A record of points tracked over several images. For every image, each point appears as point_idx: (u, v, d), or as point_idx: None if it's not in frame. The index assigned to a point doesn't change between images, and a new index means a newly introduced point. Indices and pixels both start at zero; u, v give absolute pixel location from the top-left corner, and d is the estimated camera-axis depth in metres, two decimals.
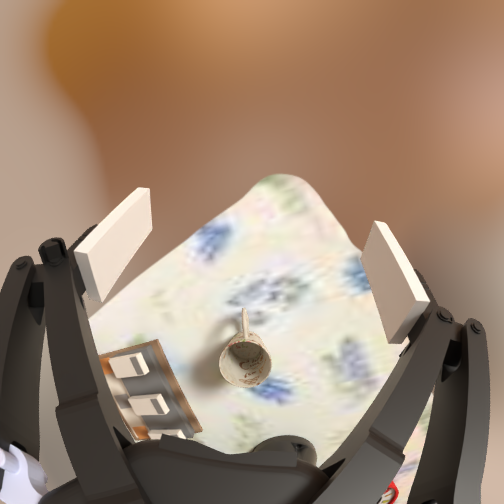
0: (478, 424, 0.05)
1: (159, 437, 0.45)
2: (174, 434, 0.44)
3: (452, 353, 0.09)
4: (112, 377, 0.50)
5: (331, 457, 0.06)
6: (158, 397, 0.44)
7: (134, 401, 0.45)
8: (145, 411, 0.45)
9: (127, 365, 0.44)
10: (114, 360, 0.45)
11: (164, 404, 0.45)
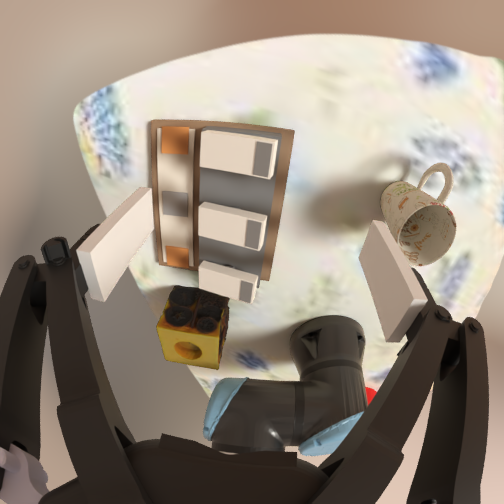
0: (477, 423, 0.05)
1: (216, 278, 0.37)
2: (248, 282, 0.36)
3: (450, 352, 0.09)
4: (176, 161, 0.33)
5: (330, 456, 0.06)
6: (264, 221, 0.31)
7: (211, 213, 0.32)
8: (221, 234, 0.33)
9: (240, 152, 0.27)
10: (216, 135, 0.27)
11: (263, 233, 0.33)
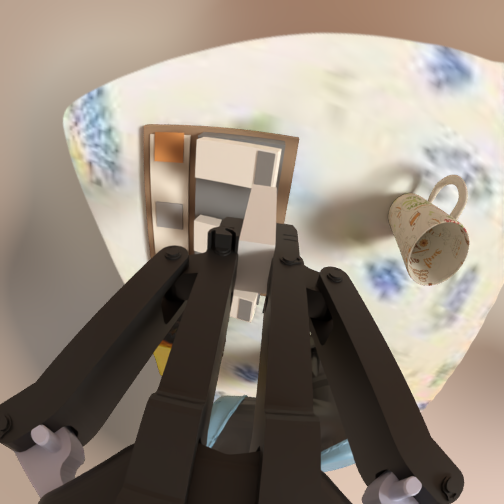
0: (388, 382, 0.06)
1: None
2: (247, 300, 0.34)
3: (308, 303, 0.11)
4: (171, 170, 0.31)
5: (252, 442, 0.07)
6: None
7: (207, 228, 0.30)
8: None
9: (240, 162, 0.25)
10: (213, 143, 0.25)
11: None
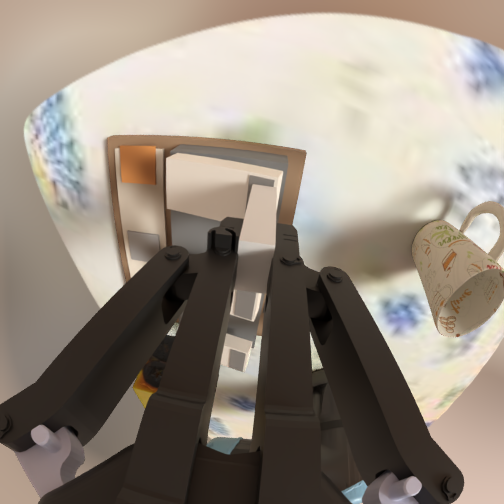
0: (389, 382, 0.06)
1: None
2: (239, 351, 0.27)
3: (308, 303, 0.11)
4: (142, 193, 0.24)
5: (252, 442, 0.07)
6: None
7: None
8: None
9: (225, 191, 0.18)
10: (187, 164, 0.18)
11: (259, 298, 0.24)
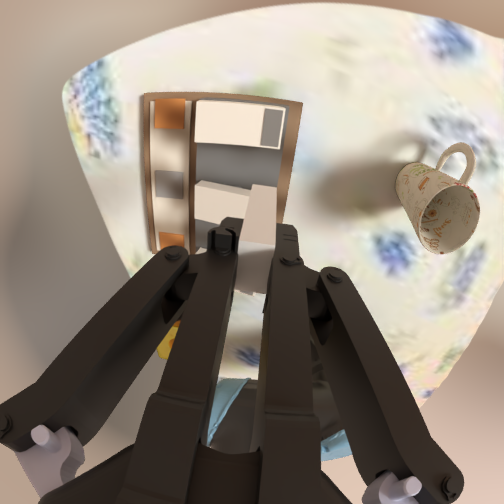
0: (389, 382, 0.06)
1: None
2: None
3: (308, 303, 0.11)
4: (171, 136, 0.29)
5: (252, 442, 0.07)
6: None
7: (208, 192, 0.28)
8: (220, 217, 0.29)
9: (246, 121, 0.23)
10: (216, 104, 0.22)
11: None
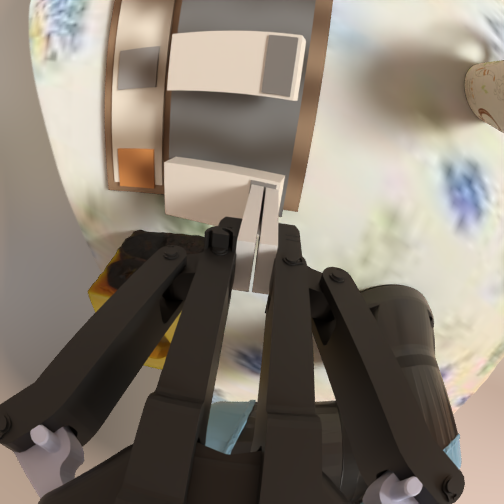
0: (391, 382, 0.06)
1: (198, 182, 0.18)
2: (266, 182, 0.16)
3: (310, 303, 0.11)
4: (149, 3, 0.14)
5: (253, 442, 0.07)
6: (303, 41, 0.11)
7: (194, 39, 0.12)
8: (212, 77, 0.14)
9: None
10: None
11: (300, 72, 0.13)
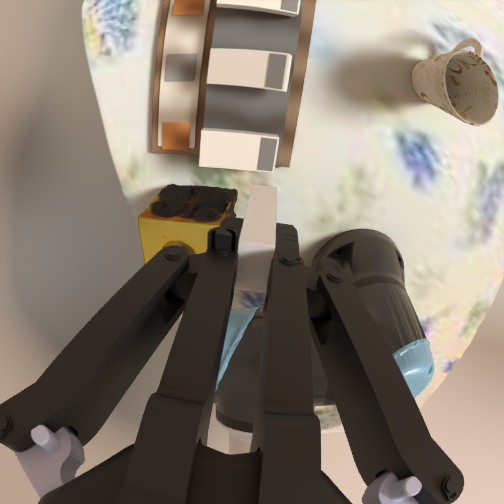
0: (389, 382, 0.06)
1: (226, 141, 0.27)
2: (271, 138, 0.27)
3: (308, 303, 0.11)
4: (188, 22, 0.23)
5: (252, 442, 0.07)
6: (289, 56, 0.21)
7: (225, 53, 0.22)
8: (236, 76, 0.23)
9: None
10: None
11: (288, 74, 0.22)
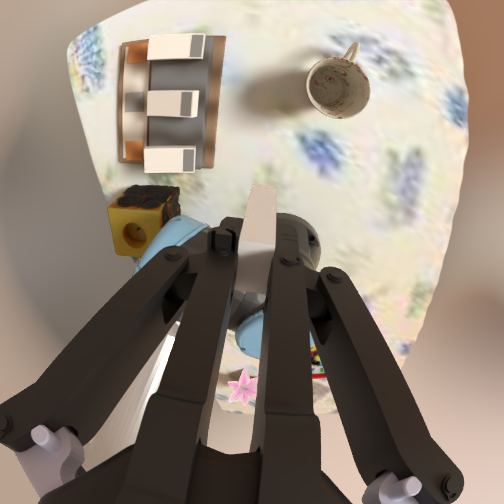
0: (389, 382, 0.06)
1: (160, 154, 0.38)
2: (190, 149, 0.39)
3: (308, 303, 0.11)
4: (137, 68, 0.35)
5: (252, 442, 0.07)
6: (195, 92, 0.33)
7: (156, 94, 0.34)
8: (163, 110, 0.35)
9: (180, 43, 0.29)
10: (161, 35, 0.28)
11: (196, 104, 0.34)
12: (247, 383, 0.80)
